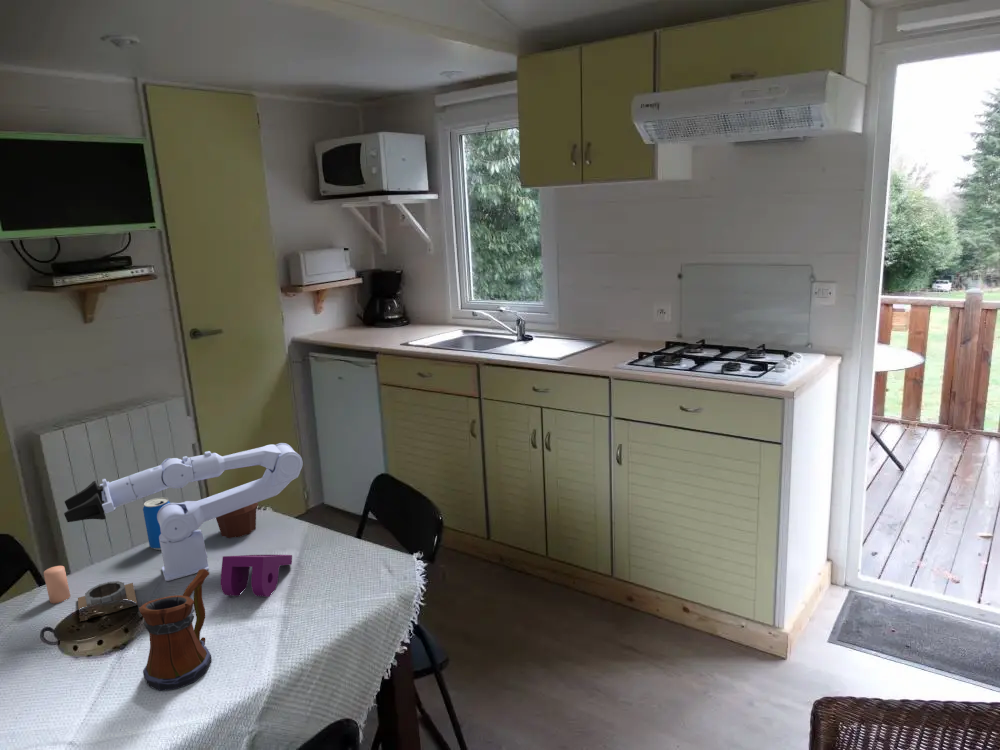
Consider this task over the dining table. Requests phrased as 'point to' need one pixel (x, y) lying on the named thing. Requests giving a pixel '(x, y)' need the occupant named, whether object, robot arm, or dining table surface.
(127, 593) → the cup bracket
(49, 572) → the rail post
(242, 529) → the muffin
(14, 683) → the dining table surface
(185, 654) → the mug
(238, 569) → the mounting bracket
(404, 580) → the dining table surface
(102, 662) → the dining table surface
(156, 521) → the beverage can
